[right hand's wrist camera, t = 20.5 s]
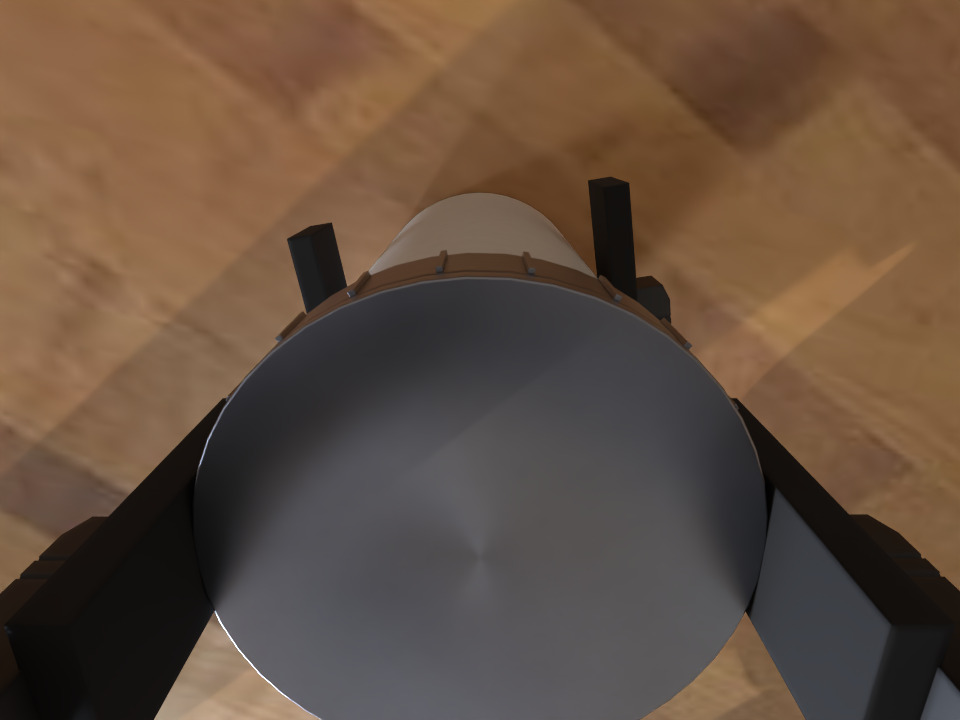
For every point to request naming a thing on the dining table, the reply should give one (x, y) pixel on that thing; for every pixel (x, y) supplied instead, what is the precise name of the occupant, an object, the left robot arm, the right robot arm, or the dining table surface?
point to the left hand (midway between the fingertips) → (456, 206)
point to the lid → (479, 501)
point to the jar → (480, 232)
